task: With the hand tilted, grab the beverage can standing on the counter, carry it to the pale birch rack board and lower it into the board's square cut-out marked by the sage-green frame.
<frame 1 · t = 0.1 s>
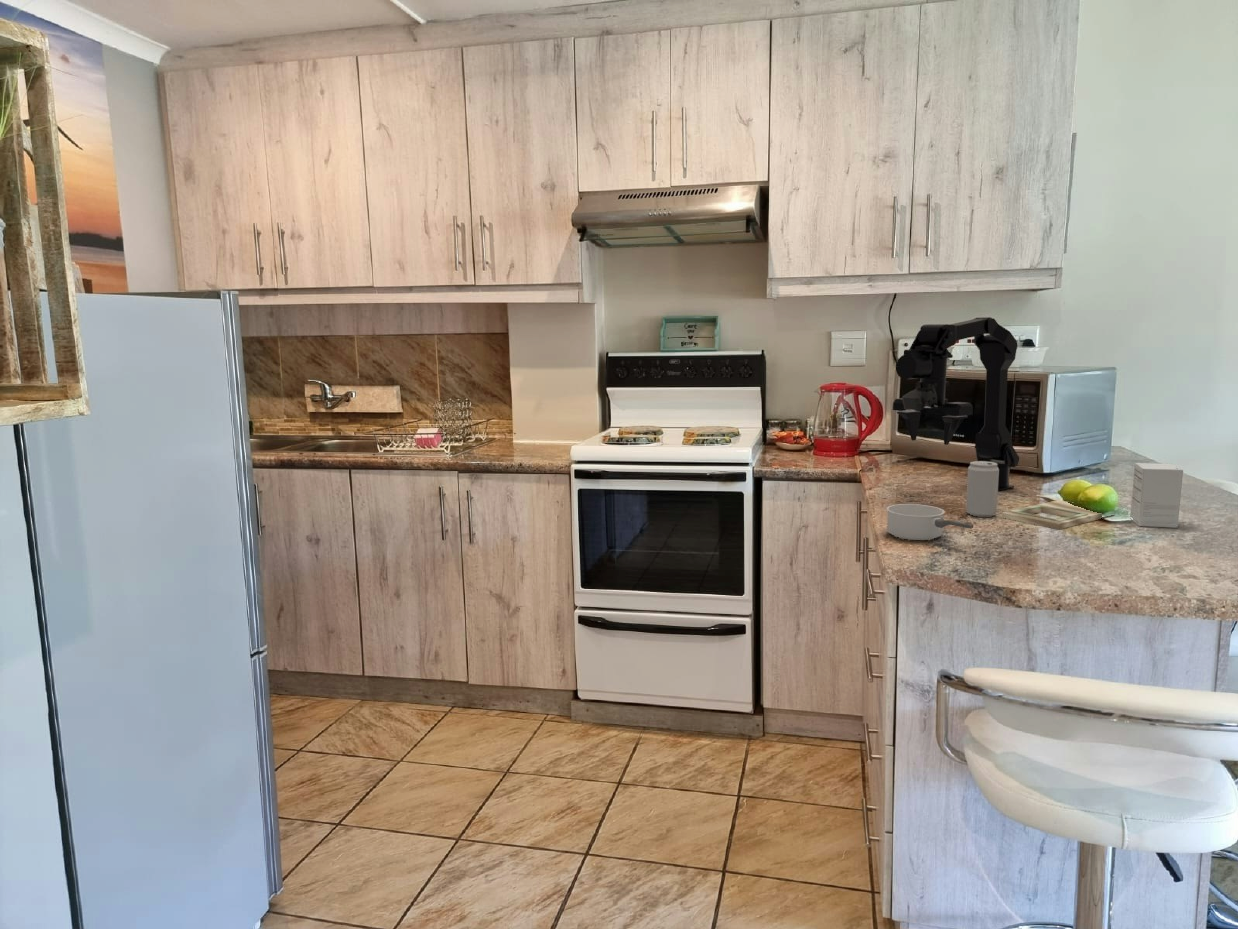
hand: (929, 442, 198), 15 cm above the countertop, tool pointing down, fingers open, 9 cm apart
saucepan: (929, 542, 165), on the countertop
beverage can: (980, 515, 186), on the countertop
rack board: (1060, 515, 184), on the countertop
supplement box: (1152, 524, 176), on the countertop
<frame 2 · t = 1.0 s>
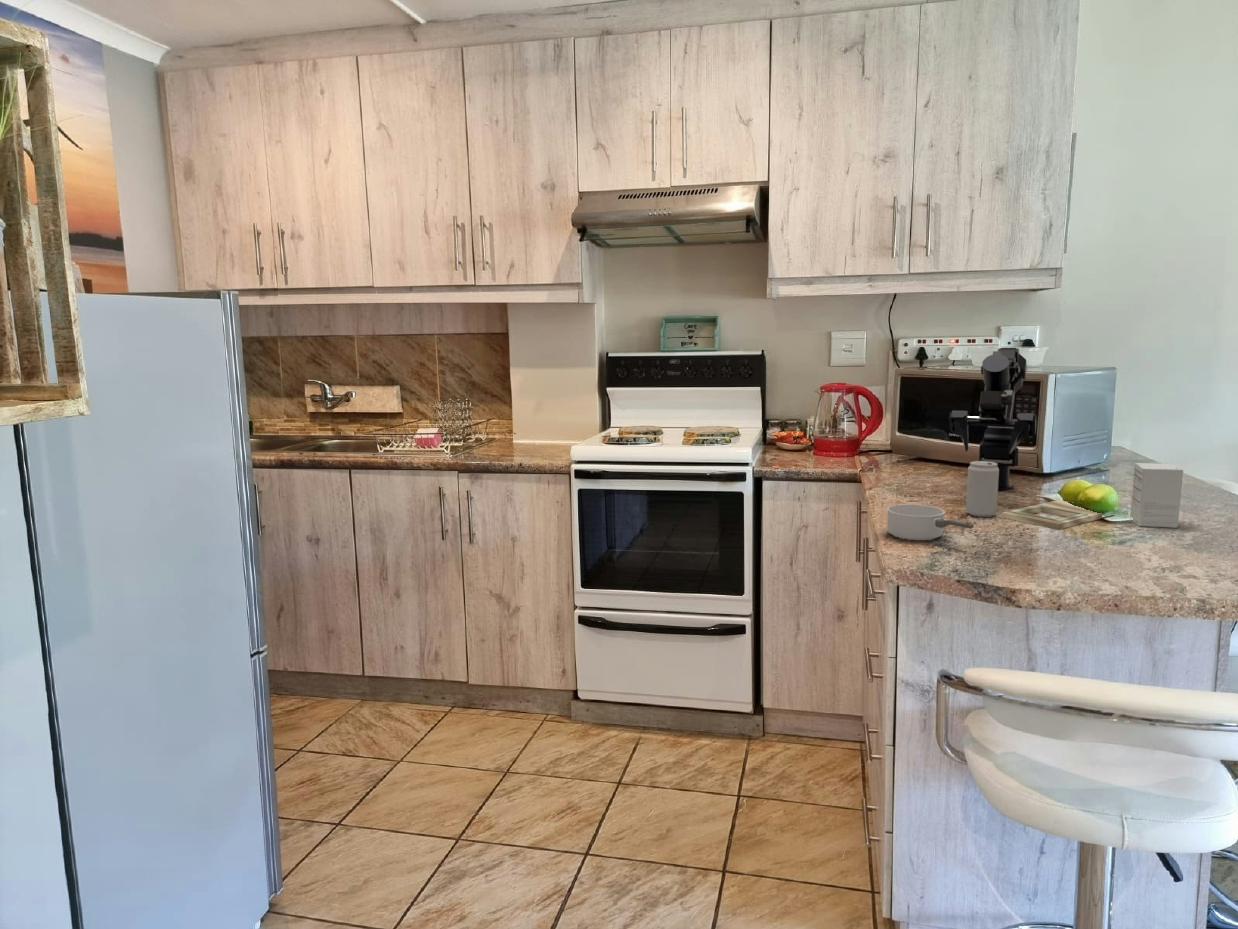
hand: (987, 451, 191), 13 cm above the countertop, tool tilted 45°, fingers open, 9 cm apart
nothing on the countertop moved.
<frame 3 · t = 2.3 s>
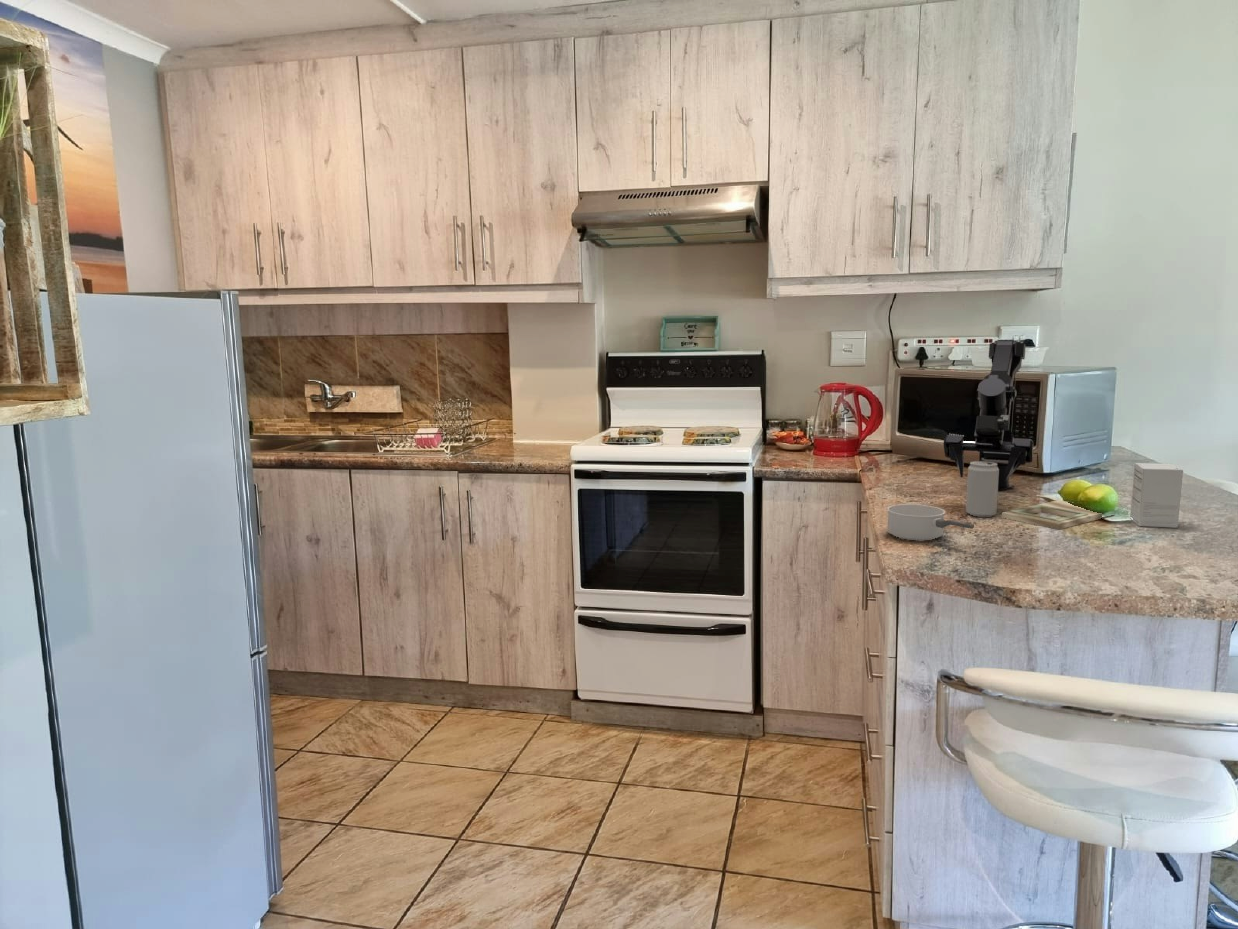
hand: (983, 477, 185), 8 cm above the countertop, tool tilted 45°, fingers open, 9 cm apart
nothing on the countertop moved.
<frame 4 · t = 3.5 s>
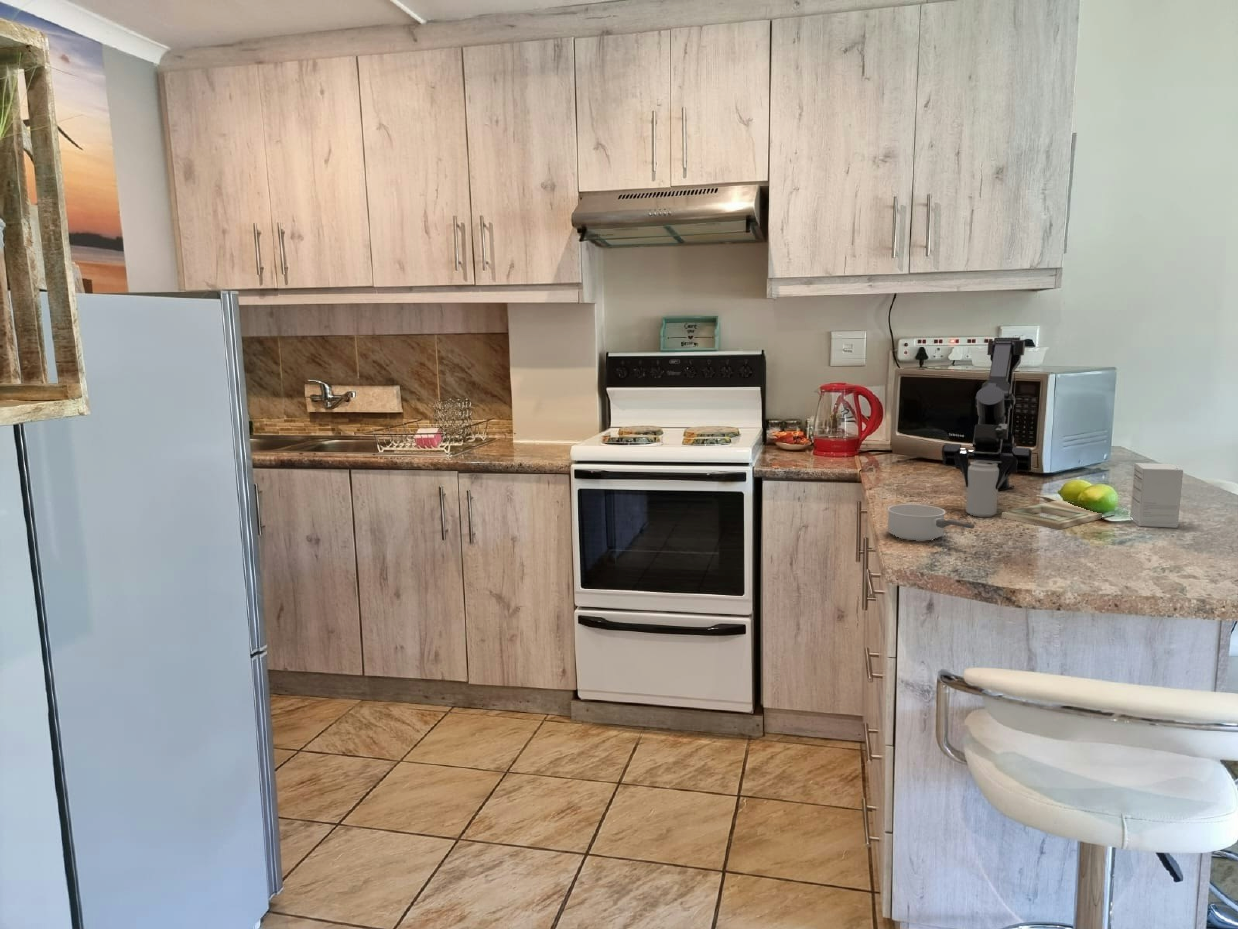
hand: (981, 487, 184), 7 cm above the countertop, tool tilted 45°, fingers closed on beverage can, 6 cm apart
beverage can: (980, 515, 186), on the countertop, touching gripper
everything else where it was.
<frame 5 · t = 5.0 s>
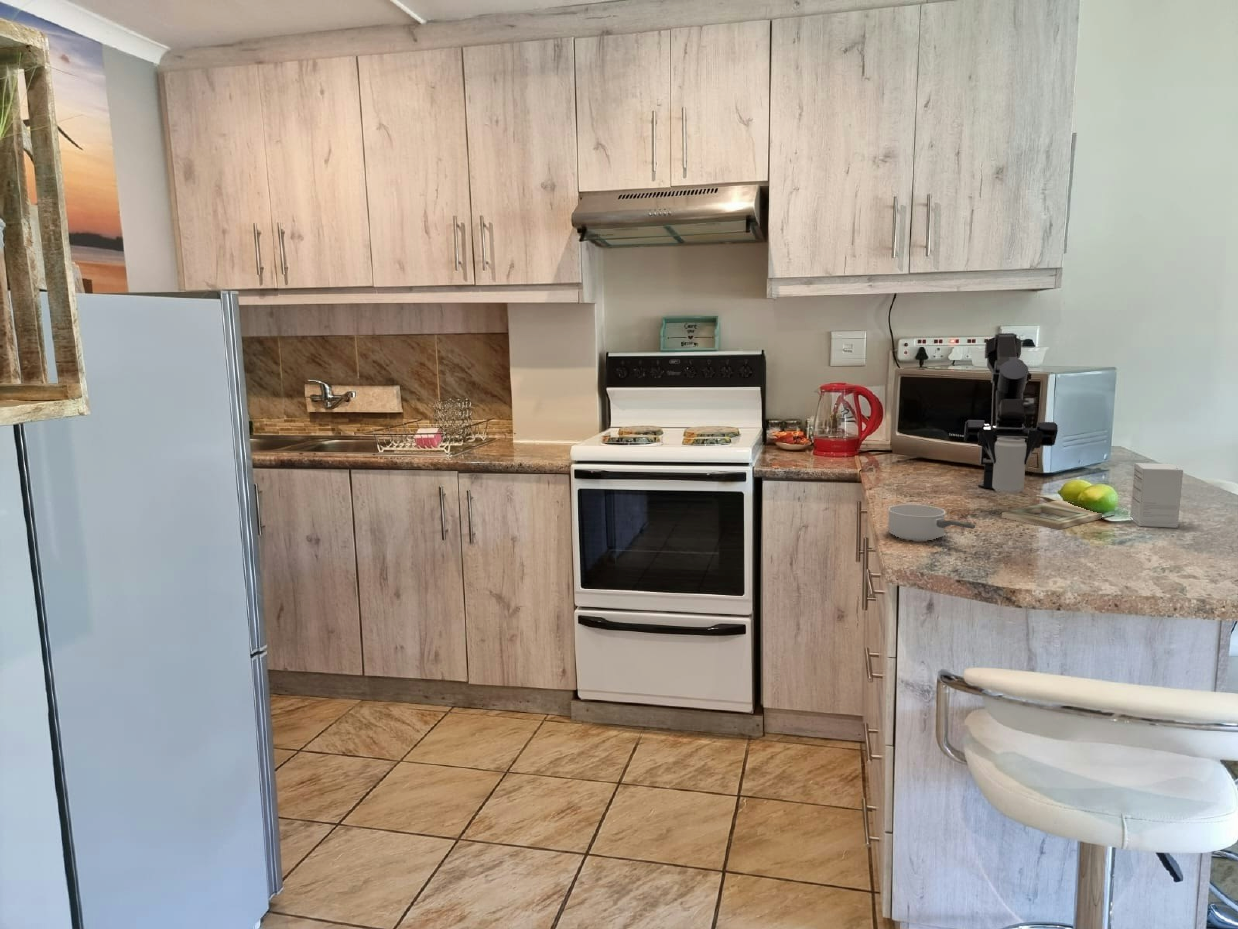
hand: (1009, 463, 181), 12 cm above the countertop, tool tilted 45°, fingers closed on beverage can, 6 cm apart
beverage can: (1007, 491, 184), point 6 cm above the countertop, touching gripper
everything else where it was.
when the fingers open (8 cm above the countertop, at t = 6.9 s): beverage can drops 1 cm, resting in rack board.
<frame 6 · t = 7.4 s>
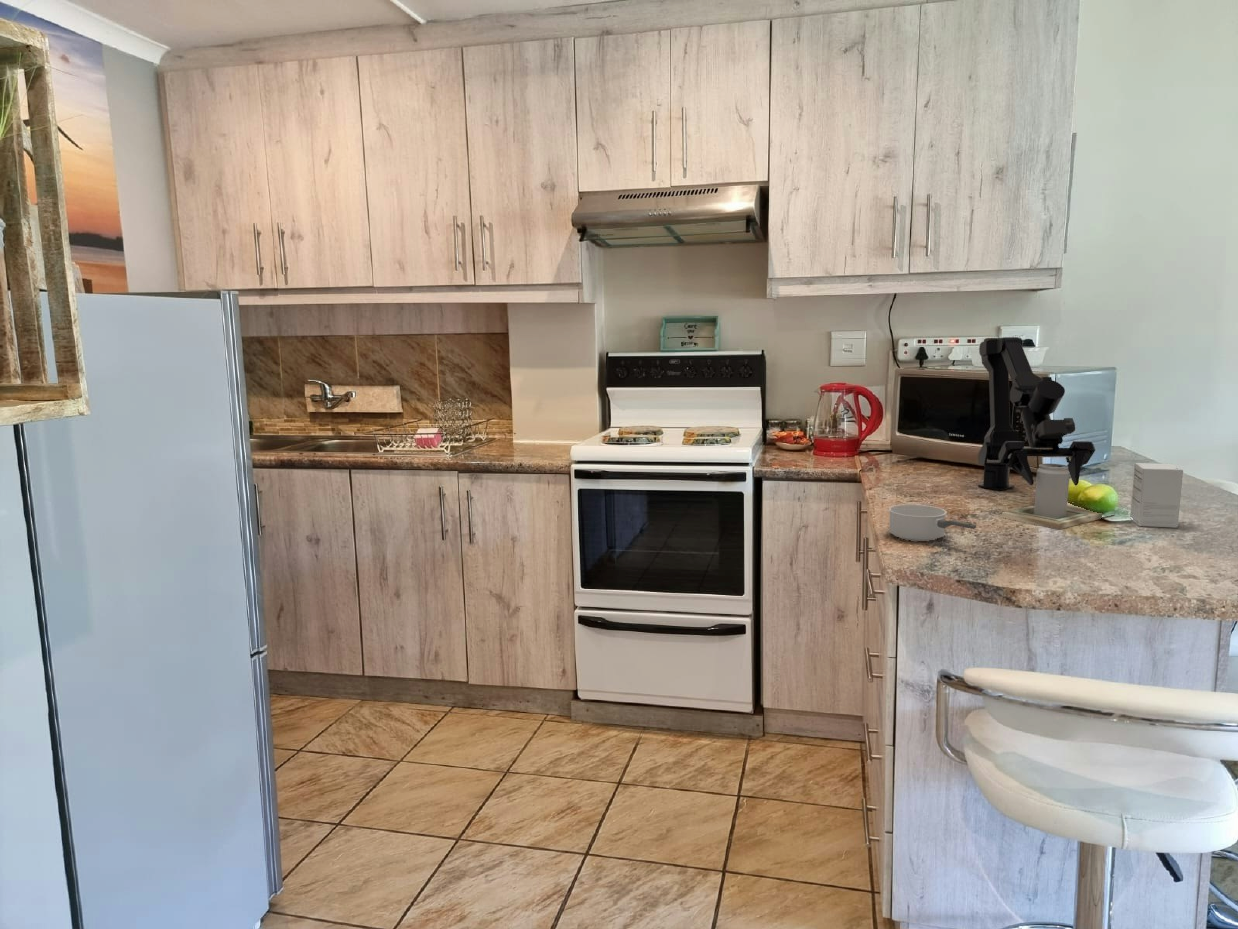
hand: (1054, 484, 179), 8 cm above the countertop, tool tilted 45°, fingers open, 9 cm apart
beverage can: (1049, 519, 182), resting in rack board
everything else where it was.
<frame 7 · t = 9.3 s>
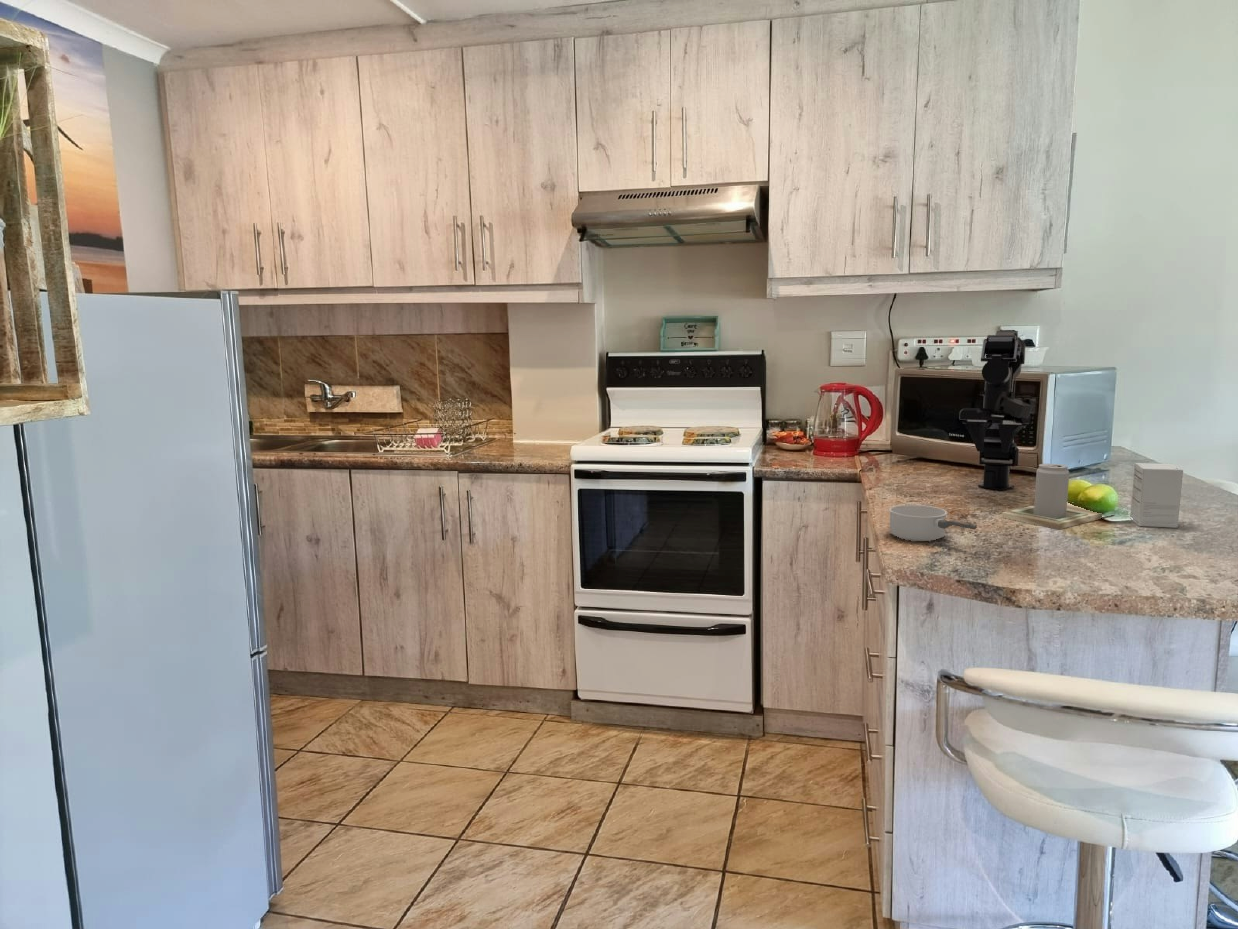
hand: (992, 451, 198), 12 cm above the countertop, tool pointing down, fingers open, 9 cm apart
nothing on the countertop moved.
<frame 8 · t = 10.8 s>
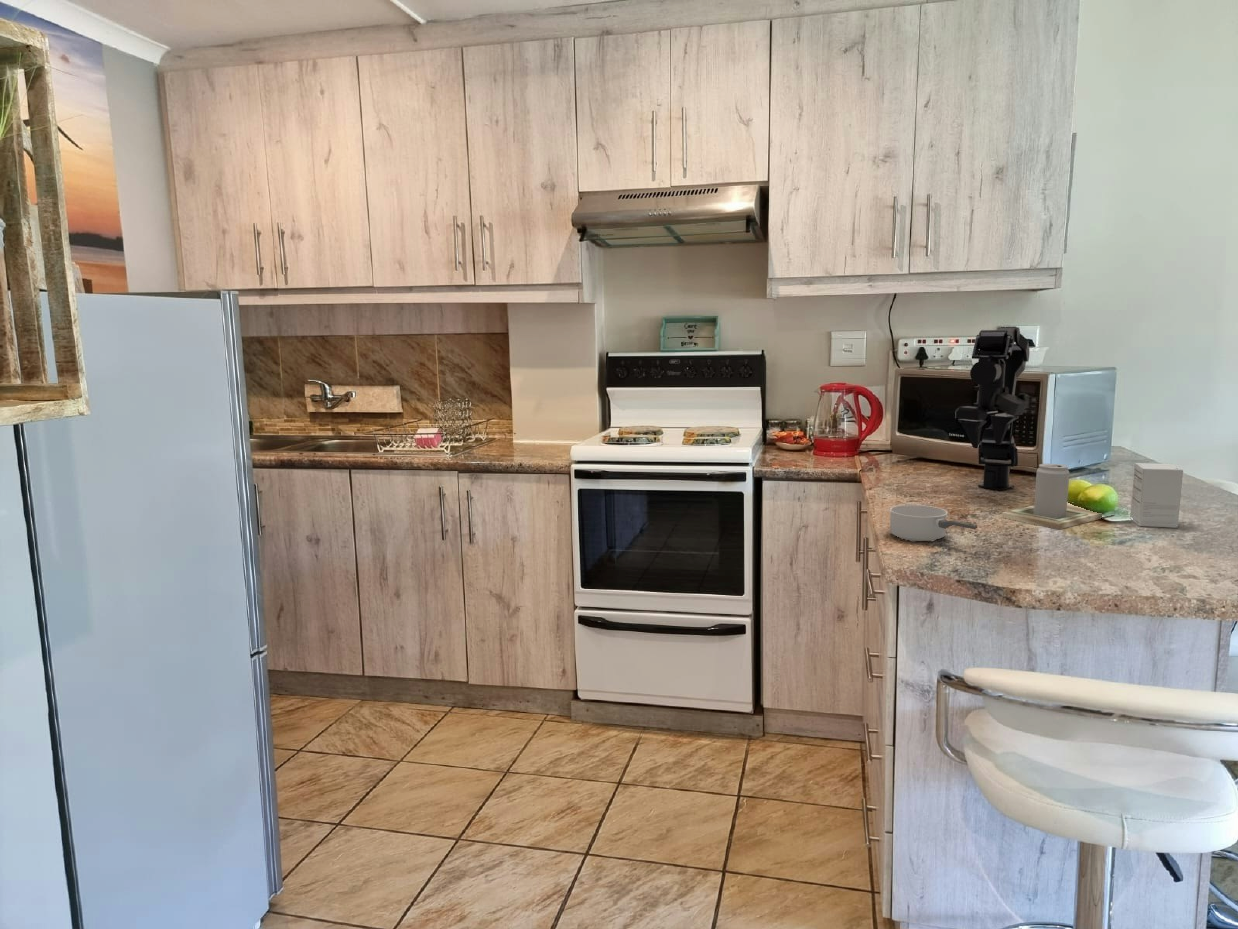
hand: (987, 446, 201), 13 cm above the countertop, tool pointing down, fingers open, 9 cm apart
nothing on the countertop moved.
at the end: beverage can inside the target area on the rack board (0.2 cm from its centre), point 0.0 cm above the rack board's base; beverage can tilted 0°; the gripper is holding nothing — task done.
